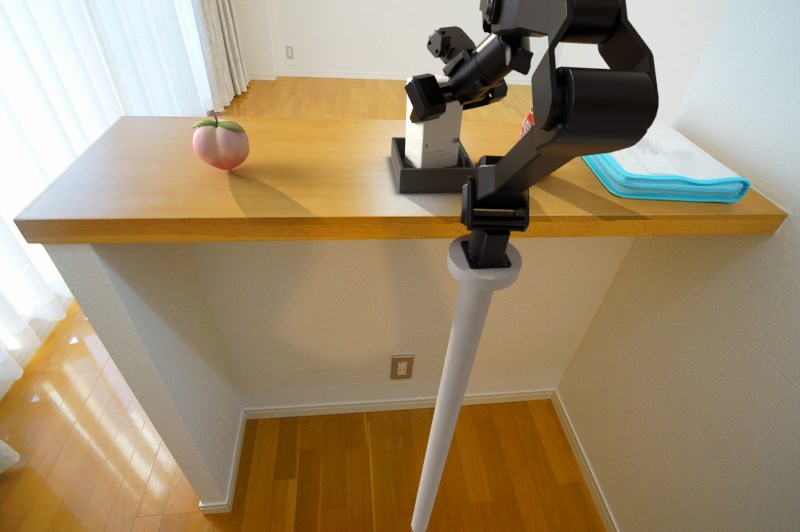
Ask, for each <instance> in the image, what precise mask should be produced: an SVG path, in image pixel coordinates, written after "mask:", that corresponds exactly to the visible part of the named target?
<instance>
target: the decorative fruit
mask: <svg viewBox="0 0 800 532" xmlns="http://www.w3.org/2000/svg"><path fill="white" fill-rule="evenodd" d="M195 128H196V129H195ZM193 129H195V131H194V132H193V136H192V147H193V150H194V153H195V154H196V156H197V157H198V158H199V159H200V160H202V161H203V162H204V163H206V164H208V165H209V166H211V167H212V168H216V169H218V170H223V171H231V170H233V169H236V168H237V167H239V166H241V165H242V164H243V163H244V162H245V161H246V160H247V158H248V157H249V153H250V142H249V141H250V140H249V137H248V134H247V132H246V131H245V129H244V128H243V127H242V125H240V124H239V123H238V122H235V121H234V120H233V121H232V120H229V119H220V118H219V119H218V116H217V115H214V119H203V120H199V121H197V122H196V123H194V124H193V125H192V126H191V130H193Z"/></svg>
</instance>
